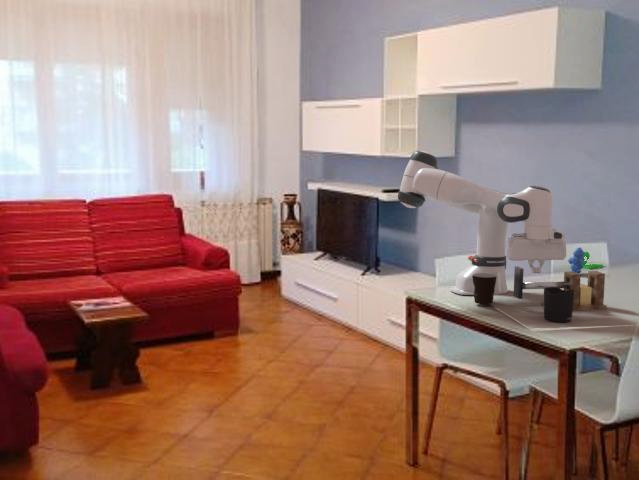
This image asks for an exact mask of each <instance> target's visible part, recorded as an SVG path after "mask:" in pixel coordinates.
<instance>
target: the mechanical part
mask: <svg viewBox="0 0 639 480" xmlns="http://www.w3.org/2000/svg"><path fill="white" fill-rule="evenodd" d="M584 253H585V254H584V255H583V257H585V256H586V257H587V260H588V259H589V257H591V255H590V252H588V251H584ZM587 260H586V261H583V263H582V265H583V268H582V269H583V270H584V269H586V270H593V269H600V268H603V267H602V266H604V265H603V263H601V264H592V265H591V264H590V265H585V264H586V263H587Z"/></svg>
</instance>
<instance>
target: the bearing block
mask: <svg viewBox="0 0 639 480" xmlns="http://www.w3.org/2000/svg"><path fill="white" fill-rule="evenodd" d="M563 274H564V275H563V282H566V281H570V288H563V290H565V291H568V290H574V301H573V311H588V310H591V311H592V310H593V311H594V310H608V305H607V304H604V300H605V299H604V297H605V284H606V283H605V282H606V279H605V278H606V273H603V272H601V271H598V270H588V275H587V286H589V287H592V290H591V305H586V306H579V296H580V284H581V273H580V274H578V273H575V272H573V271H572V270H571V271H570V270H569V271H564V273H563ZM540 305H541V307H544V301H541V302H540Z"/></svg>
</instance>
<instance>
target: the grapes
mask: <svg viewBox="0 0 639 480" xmlns="http://www.w3.org/2000/svg"><path fill="white" fill-rule="evenodd" d="M584 252H585V251H584V250H583V249H582V248H581V247H577V248H576V249H575V250H574V251H573V252H572V254H573V256H572V257H569V258H568V260H567V262H568V264H569V265H570V266H569V267H570V269H571V271H573V272H575V273H578V274H581V272H582V269H584V268H583V265H582V263H583V261H584V260H585V259H584V257H583V255H584V254H585V253H584Z"/></svg>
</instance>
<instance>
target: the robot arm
mask: <svg viewBox="0 0 639 480" xmlns="http://www.w3.org/2000/svg"><path fill="white" fill-rule="evenodd" d="M401 179H402V180H401V183H400V187H399V190H398V192H397V199H398V202H400V204H402V205H403V206H405V208H410V209H416V208H417V209H418V208H420V207H422V206H423V205H424V204H425V202H426V198H427V199H428V200H431V201H433V202H435V203H438V204H441V205H443V206H447V207H449V208H453V209H455V210H458V211H461V212H465V213H467V214H471V215H474V216H477V217H479V220H478V230H477V234H476V254H475V255H474V256H473V255H470V254H469V255H468V256H467V259H468V260H469V261H470V262H471V264H469V266H468V267H466V268H465V269H463V270H462V271H460V272H459V273H458V275H457V276H456V280H455V285H450V287H449V290H450V291H451V292H453V293H455V294H458V295H462V296H465V295H466V296H474V289H473V277H472V274H475V273H489V274H495V275H497V278H496V284H495V291H494V295H500V294H506V293H508V292H509V289H508V285H507V279H506V278H507V277H506V269H507V258H508V260H510V261H515V262H516V261H518V262H519V261H527V263H528V265H529V267H530V273H531V274H541V273H542V271H541V270H542V268H543V266H544V265H545V262H546V261H564V260H565V259H566V258H567V244H566V241H565V240H564V239H565V237H566V235H565V233H564V232H562V231H558V230H557V229H553V228H552V222H551V217H552V214H553V197H552V192H551V191H550V189H548V188H546V187H543V186H539V185H538V186H537V185H530V186H528V187H527V188H525V189H523V190H521V191H519V192H512V193H505V192H502V191H497V190H493V189H491V188H488V187H484V186H482V185H478V184H477V183H474V182H472V181H471V180H468V179H466V178H465V177H462V176H459V175H457V174H456V173H452V172H449V171H446V170H442V169H439V167H438V160H437V158H436V156H435V155H433V153H431V152H429V151H426V150H416V151H413V152H412V154H411V156H410V157H409V161H408V162H407V165H406V167H405V170H404V171H403V176H402V178H401ZM518 222H524V233H512V234H511V235H509V236H508V237H507V231H508V225H509V223H510V224H514V223H518ZM507 238H508V239H507ZM506 242H507V243H508V248H507V253H506V247H507V246H506V245H507V244H506ZM535 261H537V262H538V265H537V266H536V267H535Z"/></svg>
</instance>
